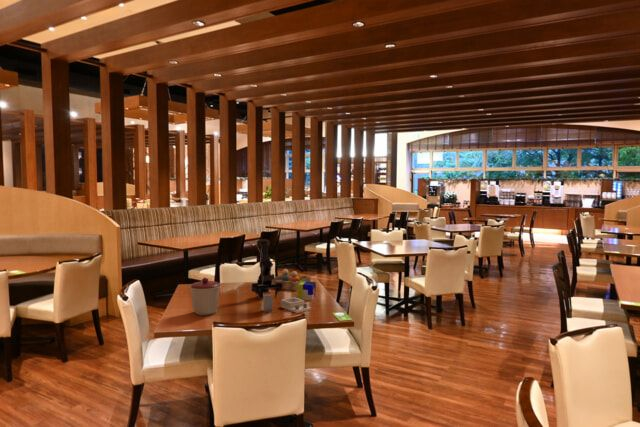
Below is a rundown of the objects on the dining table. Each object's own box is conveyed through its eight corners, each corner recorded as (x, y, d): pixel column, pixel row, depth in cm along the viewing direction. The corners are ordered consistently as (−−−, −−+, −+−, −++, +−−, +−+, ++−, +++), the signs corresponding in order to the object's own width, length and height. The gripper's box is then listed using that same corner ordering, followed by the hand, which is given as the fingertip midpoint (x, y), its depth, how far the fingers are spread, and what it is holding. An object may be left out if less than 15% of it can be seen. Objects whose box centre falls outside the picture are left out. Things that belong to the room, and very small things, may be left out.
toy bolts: (308, 285, 337) (308, 269, 336) (295, 289, 322) (295, 272, 321) (290, 282, 347) (290, 266, 346) (276, 286, 332) (276, 269, 331)
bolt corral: (269, 287, 327) (269, 279, 326) (284, 281, 348) (284, 273, 348) (296, 290, 318) (296, 282, 317) (310, 284, 339) (310, 276, 339)
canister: (222, 316, 255) (222, 280, 254) (189, 318, 250) (189, 281, 249) (220, 307, 273) (219, 274, 271) (189, 309, 268) (189, 275, 266)
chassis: (280, 306, 276) (280, 299, 276) (294, 303, 283) (294, 297, 282) (296, 313, 263) (296, 305, 263) (310, 309, 270) (311, 302, 270)
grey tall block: (263, 309, 269) (263, 292, 268) (271, 309, 270) (271, 291, 269) (263, 312, 264) (263, 294, 263) (272, 311, 265) (272, 293, 264)
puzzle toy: (312, 300, 293) (312, 285, 292) (297, 299, 295) (297, 284, 294) (315, 296, 303) (315, 282, 302) (301, 295, 305) (301, 281, 304)
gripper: (251, 270, 268) (252, 292, 258) (282, 269, 272) (284, 291, 262) (251, 280, 277) (251, 302, 266) (280, 279, 280) (282, 300, 270)
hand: (267, 298), depth 266 cm, fingers open, 9 cm apart
